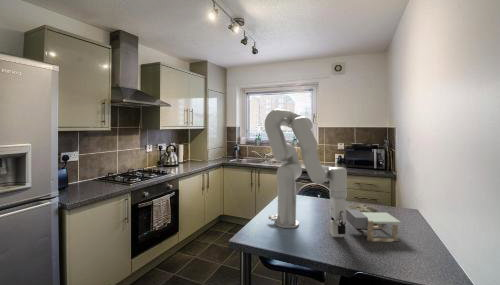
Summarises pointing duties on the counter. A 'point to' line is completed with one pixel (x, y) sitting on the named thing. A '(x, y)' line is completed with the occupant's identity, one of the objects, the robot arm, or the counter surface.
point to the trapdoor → (368, 218)
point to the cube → (334, 229)
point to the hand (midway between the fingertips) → (338, 229)
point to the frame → (371, 227)
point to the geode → (364, 208)
